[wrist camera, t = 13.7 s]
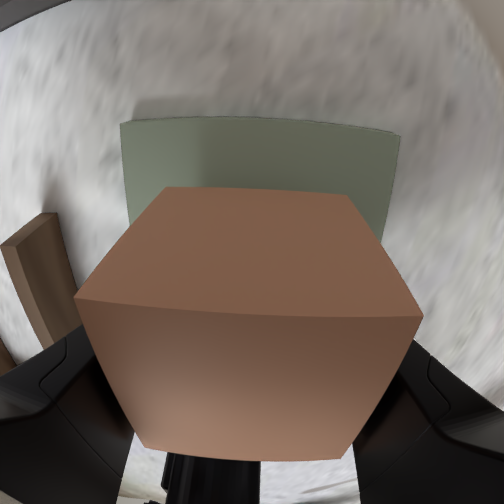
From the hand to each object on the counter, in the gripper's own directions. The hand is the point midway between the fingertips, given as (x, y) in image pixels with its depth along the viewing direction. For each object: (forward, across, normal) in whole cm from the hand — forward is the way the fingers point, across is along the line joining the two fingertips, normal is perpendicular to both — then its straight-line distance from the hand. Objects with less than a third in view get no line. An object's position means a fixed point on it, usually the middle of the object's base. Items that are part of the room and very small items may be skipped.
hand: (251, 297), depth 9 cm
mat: (+3, 0, 0) cm, 3 cm away
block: (+1, 0, 0) cm, 1 cm away
